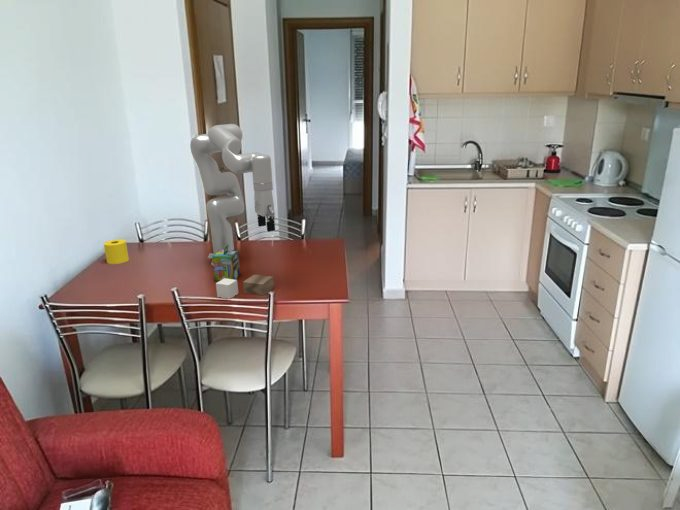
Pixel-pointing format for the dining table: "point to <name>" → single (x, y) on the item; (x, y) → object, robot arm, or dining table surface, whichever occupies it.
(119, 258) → the tape roll
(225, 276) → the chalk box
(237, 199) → the robot arm
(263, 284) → the walnut block
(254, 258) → the dining table surface
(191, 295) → the dining table surface
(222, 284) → the cream cube
